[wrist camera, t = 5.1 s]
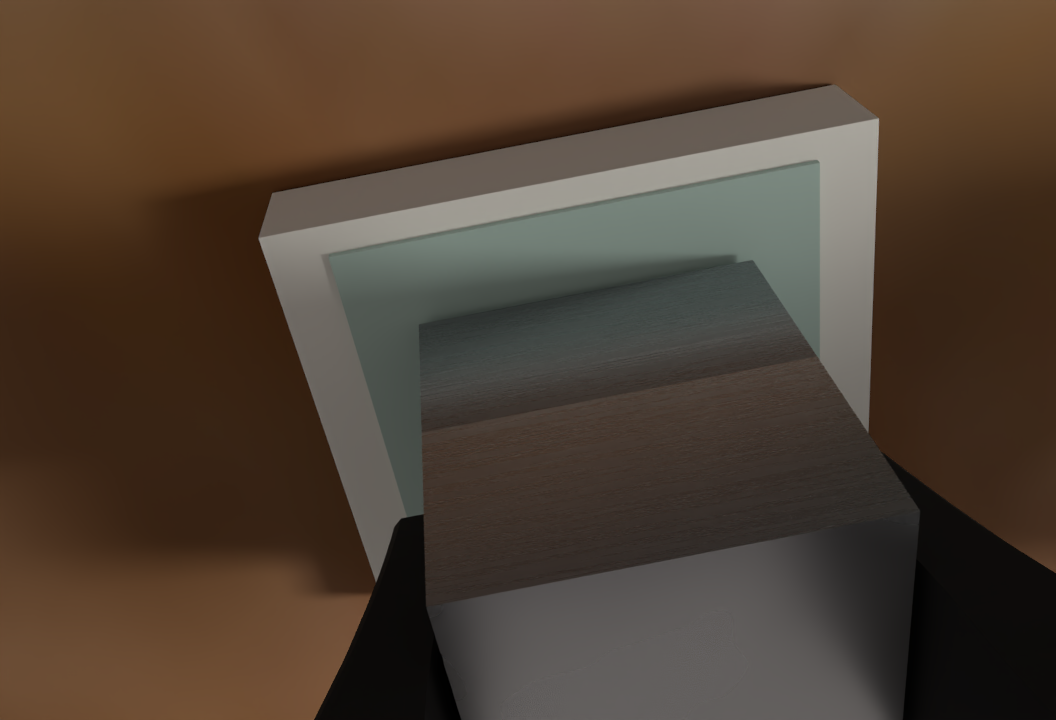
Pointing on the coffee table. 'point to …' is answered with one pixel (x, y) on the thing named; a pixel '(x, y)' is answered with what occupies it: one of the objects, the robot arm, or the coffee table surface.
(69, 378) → the coffee table surface
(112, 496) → the coffee table surface
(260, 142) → the coffee table surface
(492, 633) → the block
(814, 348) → the stand
